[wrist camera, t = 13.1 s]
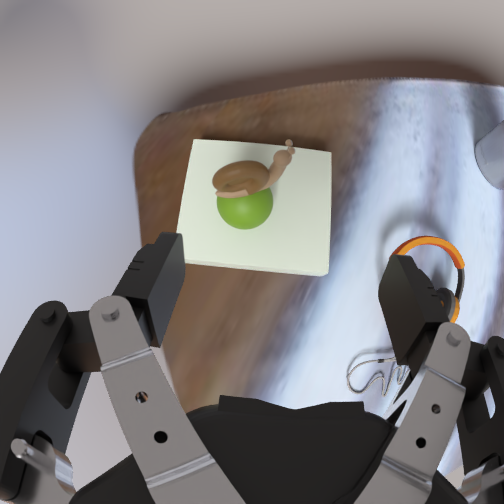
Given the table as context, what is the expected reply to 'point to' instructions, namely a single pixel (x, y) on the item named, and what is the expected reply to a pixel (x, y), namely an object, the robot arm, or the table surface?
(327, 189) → the sage board
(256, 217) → the snail figurine
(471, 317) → the table surface
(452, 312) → the headphones
